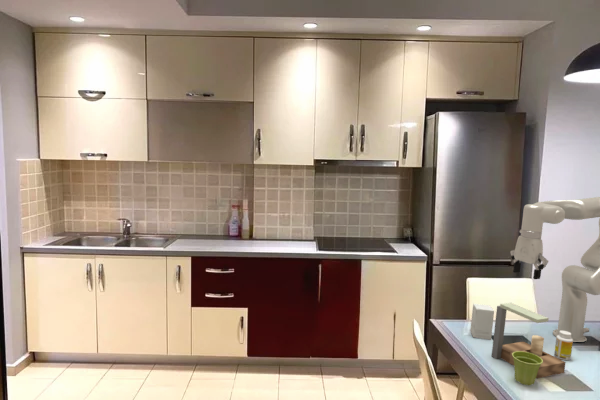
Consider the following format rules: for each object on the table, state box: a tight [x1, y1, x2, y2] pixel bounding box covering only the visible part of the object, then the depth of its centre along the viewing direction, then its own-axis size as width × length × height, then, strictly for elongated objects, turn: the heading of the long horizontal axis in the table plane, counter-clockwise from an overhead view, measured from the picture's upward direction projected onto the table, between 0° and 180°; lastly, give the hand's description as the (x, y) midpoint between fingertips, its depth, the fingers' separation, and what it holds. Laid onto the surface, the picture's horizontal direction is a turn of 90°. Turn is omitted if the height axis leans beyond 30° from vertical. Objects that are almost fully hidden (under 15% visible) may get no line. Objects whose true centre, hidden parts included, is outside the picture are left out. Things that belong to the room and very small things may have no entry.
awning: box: [491, 302, 550, 360], centre depth 166 cm, size 6×17×21 cm, turn 23°
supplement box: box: [470, 303, 495, 341], centre depth 193 cm, size 7×7×13 cm
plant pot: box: [512, 351, 543, 386], centre depth 155 cm, size 9×9×9 cm
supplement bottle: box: [553, 331, 574, 361], centre depth 176 cm, size 6×6×10 cm
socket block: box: [500, 341, 567, 379], centre depth 169 cm, size 14×18×4 cm
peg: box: [530, 334, 545, 357], centre depth 170 cm, size 4×4×10 cm
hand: (526, 275), depth 187 cm, fingers open, 9 cm apart
